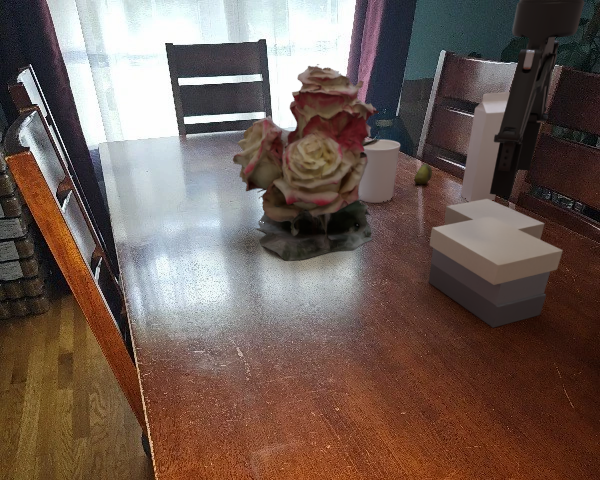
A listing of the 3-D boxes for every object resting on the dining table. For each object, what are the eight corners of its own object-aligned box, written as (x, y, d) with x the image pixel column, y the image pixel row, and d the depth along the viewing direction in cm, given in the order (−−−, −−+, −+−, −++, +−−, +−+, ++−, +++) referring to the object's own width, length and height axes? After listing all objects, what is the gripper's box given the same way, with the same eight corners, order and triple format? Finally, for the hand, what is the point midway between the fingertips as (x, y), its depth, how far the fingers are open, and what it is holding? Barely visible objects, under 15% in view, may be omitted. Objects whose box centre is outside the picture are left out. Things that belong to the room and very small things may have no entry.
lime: (413, 186, 131) (416, 166, 128) (412, 181, 134) (415, 161, 131) (431, 187, 130) (434, 166, 127) (430, 181, 134) (432, 161, 131)
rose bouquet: (236, 222, 114) (219, 62, 95) (361, 209, 118) (368, 54, 100) (251, 269, 95) (233, 80, 76) (400, 252, 99) (419, 69, 80)
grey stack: (540, 314, 79) (553, 272, 74) (492, 327, 76) (503, 284, 72) (470, 272, 91) (478, 233, 87) (428, 282, 89) (433, 243, 84)
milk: (460, 196, 124) (476, 91, 110) (484, 194, 125) (503, 89, 111) (470, 203, 119) (489, 95, 106) (494, 201, 120) (516, 93, 106)
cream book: (557, 269, 75) (563, 250, 73) (493, 285, 72) (498, 265, 70) (486, 233, 87) (490, 216, 85) (429, 245, 83) (431, 227, 82)
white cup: (391, 205, 120) (396, 150, 112) (351, 202, 123) (353, 148, 115) (399, 193, 127) (403, 140, 120) (360, 190, 130) (363, 138, 122)
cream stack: (537, 255, 96) (546, 223, 92) (494, 265, 93) (501, 233, 89) (481, 227, 108) (487, 198, 104) (441, 235, 105) (446, 206, 101)
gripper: (537, -6, 71) (503, 158, 84) (495, -1, 54) (461, 203, 68) (596, -8, 68) (551, 162, 81) (571, -3, 51) (520, 211, 65)
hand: (510, 181), depth 74 cm, fingers open, 13 cm apart
